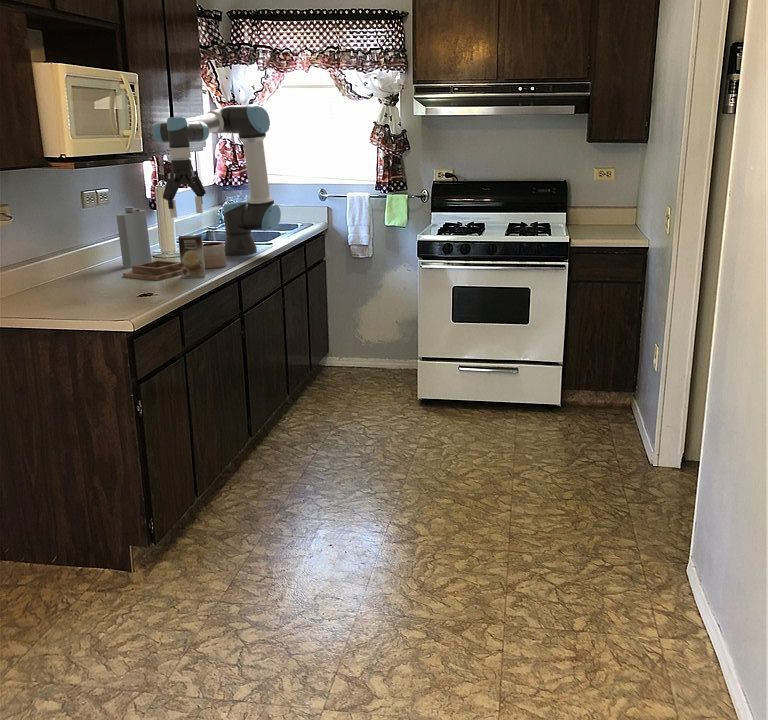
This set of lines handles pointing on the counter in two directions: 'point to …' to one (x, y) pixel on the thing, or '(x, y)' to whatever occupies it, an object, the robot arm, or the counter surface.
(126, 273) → the holder
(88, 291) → the counter surface
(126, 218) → the flask
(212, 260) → the planter
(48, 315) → the counter surface
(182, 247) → the coffee box
